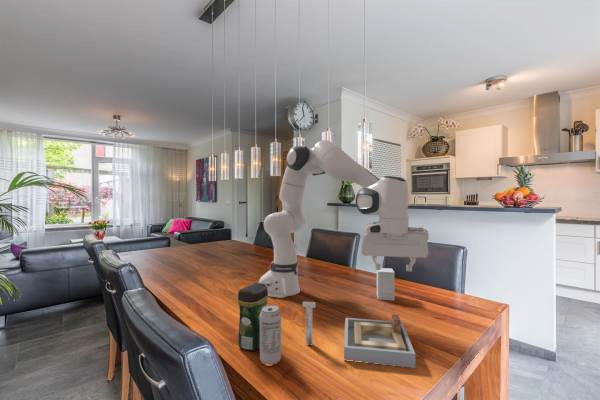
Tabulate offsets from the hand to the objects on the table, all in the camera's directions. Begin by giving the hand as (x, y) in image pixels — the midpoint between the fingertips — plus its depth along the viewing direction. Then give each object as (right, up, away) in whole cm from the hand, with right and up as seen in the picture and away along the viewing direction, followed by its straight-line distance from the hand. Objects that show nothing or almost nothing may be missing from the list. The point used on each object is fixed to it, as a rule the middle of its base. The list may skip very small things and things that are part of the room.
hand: (393, 270), depth 88 cm
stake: (-27, -23, -1) cm, 35 cm away
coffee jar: (-44, -23, 0) cm, 50 cm away
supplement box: (+9, -23, +39) cm, 46 cm away
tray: (-6, -23, -2) cm, 24 cm away
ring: (-6, -22, -2) cm, 23 cm away
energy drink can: (-38, -23, -10) cm, 46 cm away
